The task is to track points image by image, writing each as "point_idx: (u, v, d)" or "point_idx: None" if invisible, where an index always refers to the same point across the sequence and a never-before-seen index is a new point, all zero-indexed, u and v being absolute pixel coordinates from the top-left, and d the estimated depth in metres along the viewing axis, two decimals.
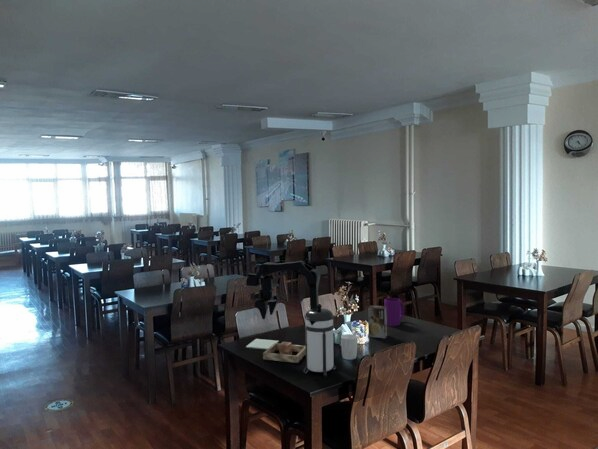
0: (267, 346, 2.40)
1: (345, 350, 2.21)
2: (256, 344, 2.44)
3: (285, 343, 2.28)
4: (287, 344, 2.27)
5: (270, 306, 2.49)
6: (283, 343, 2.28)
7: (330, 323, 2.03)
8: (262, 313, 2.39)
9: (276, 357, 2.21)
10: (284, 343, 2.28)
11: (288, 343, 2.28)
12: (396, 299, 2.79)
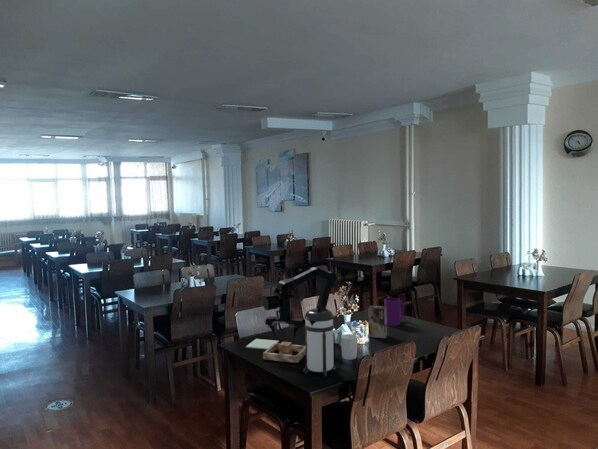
0: (267, 346, 2.40)
1: (345, 350, 2.21)
2: (256, 344, 2.44)
3: (285, 343, 2.28)
4: (287, 344, 2.27)
5: None
6: (283, 343, 2.28)
7: (330, 323, 2.03)
8: None
9: (276, 357, 2.21)
10: (284, 343, 2.28)
11: (288, 343, 2.28)
12: (396, 299, 2.79)
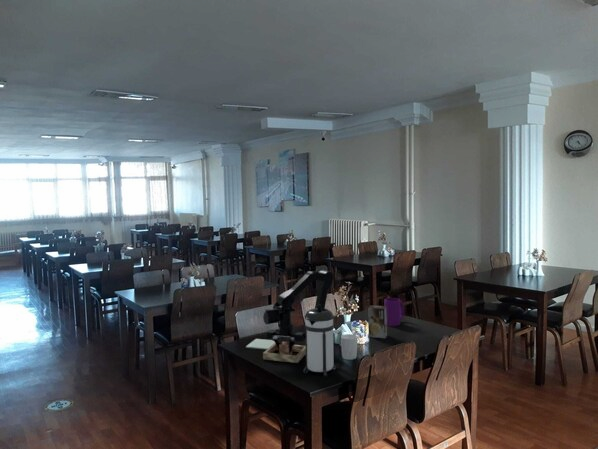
0: (267, 346, 2.40)
1: (345, 350, 2.21)
2: (256, 344, 2.44)
3: (285, 343, 2.28)
4: (287, 344, 2.27)
5: None
6: (283, 343, 2.28)
7: (330, 323, 2.03)
8: None
9: (276, 357, 2.21)
10: (284, 343, 2.28)
11: (288, 343, 2.28)
12: (396, 299, 2.79)
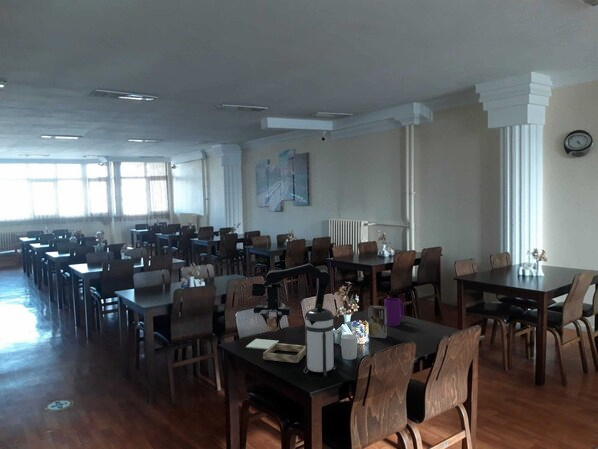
0: (267, 346, 2.40)
1: (345, 350, 2.21)
2: (256, 344, 2.44)
3: (272, 317, 2.35)
4: (274, 318, 2.34)
5: None
6: (271, 317, 2.35)
7: (330, 323, 2.03)
8: None
9: (276, 357, 2.21)
10: (272, 317, 2.35)
11: (275, 317, 2.35)
12: (396, 299, 2.79)
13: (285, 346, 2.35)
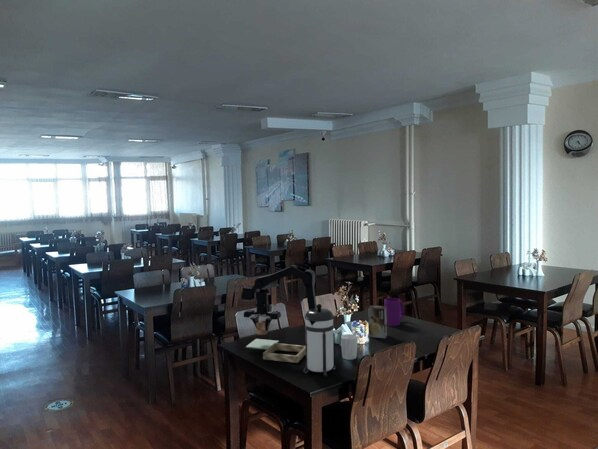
0: (267, 346, 2.40)
1: (345, 350, 2.21)
2: (256, 344, 2.44)
3: (262, 321, 2.44)
4: (263, 322, 2.43)
5: None
6: (260, 321, 2.44)
7: (330, 323, 2.03)
8: None
9: (276, 357, 2.21)
10: (261, 321, 2.44)
11: None
12: (396, 299, 2.79)
13: (285, 346, 2.35)
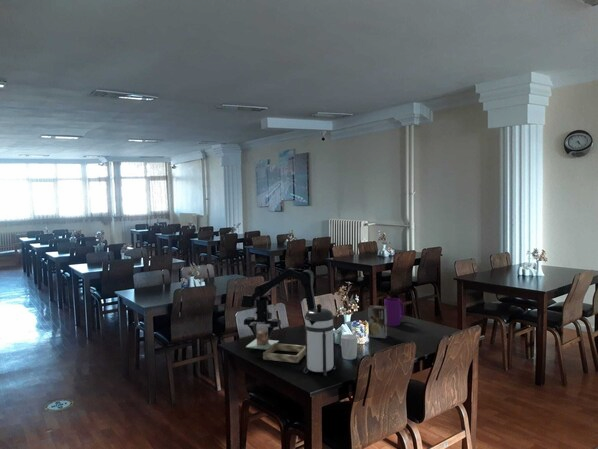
0: (267, 346, 2.40)
1: (345, 350, 2.21)
2: (256, 344, 2.44)
3: (262, 332, 2.45)
4: (264, 333, 2.43)
5: None
6: (260, 332, 2.45)
7: (330, 323, 2.03)
8: None
9: (276, 357, 2.21)
10: (261, 332, 2.45)
11: (265, 332, 2.44)
12: (396, 299, 2.79)
13: (285, 346, 2.35)
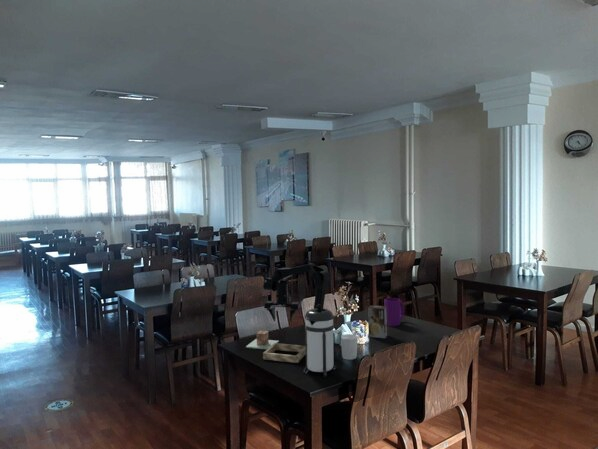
0: (267, 346, 2.40)
1: (345, 350, 2.21)
2: (256, 344, 2.44)
3: (262, 332, 2.45)
4: (264, 333, 2.43)
5: None
6: (260, 332, 2.45)
7: (330, 323, 2.03)
8: None
9: (276, 357, 2.21)
10: (261, 332, 2.45)
11: (265, 332, 2.44)
12: (396, 299, 2.79)
13: (285, 346, 2.35)
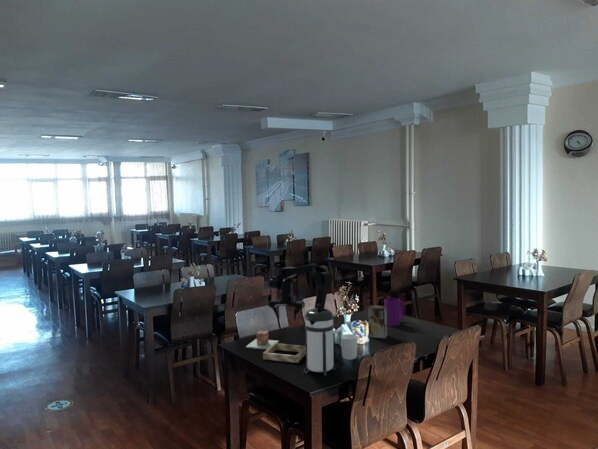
0: (267, 346, 2.40)
1: (345, 350, 2.21)
2: (256, 344, 2.44)
3: (262, 332, 2.45)
4: (264, 333, 2.43)
5: None
6: (260, 332, 2.45)
7: (330, 323, 2.03)
8: None
9: (276, 357, 2.21)
10: (261, 332, 2.45)
11: (265, 332, 2.44)
12: (396, 299, 2.79)
13: (285, 346, 2.35)
